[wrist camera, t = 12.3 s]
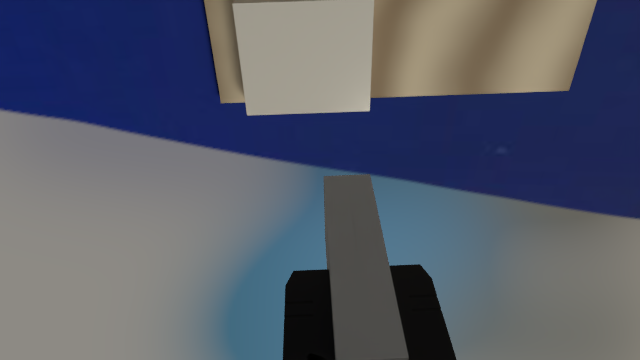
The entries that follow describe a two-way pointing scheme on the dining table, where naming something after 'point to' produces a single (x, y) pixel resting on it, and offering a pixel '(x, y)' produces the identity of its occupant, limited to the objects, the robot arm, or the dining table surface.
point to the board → (446, 46)
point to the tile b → (305, 55)
